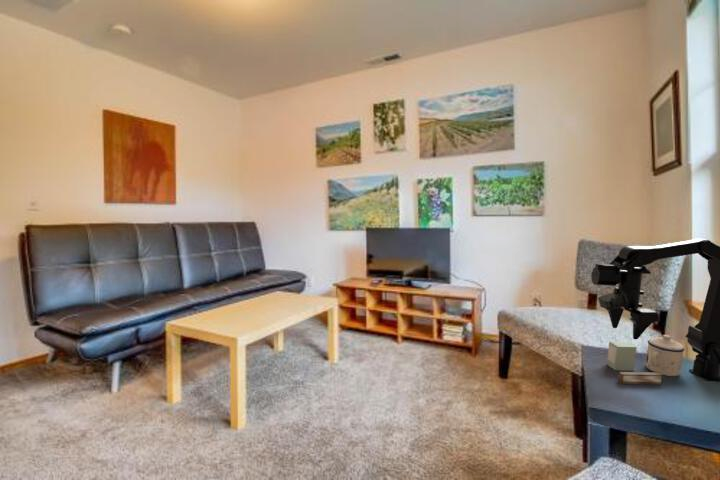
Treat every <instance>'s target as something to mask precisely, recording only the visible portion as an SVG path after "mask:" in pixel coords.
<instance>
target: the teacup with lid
mask: <svg viewBox="0 0 720 480" xmlns="http://www.w3.org/2000/svg"><path fill="white" fill-rule="evenodd" d="M684 352H685V347H684V346H683V344H681V343H680V342H677V341H676V340H674V339H672V337H671V336H670V335H669V334H663V335H662V336H659V337H651V338H648V340H647V351H646V359H645V367H646V368H647V369H648V370H649V371H651V372H656V373H660V374H662V376H668V377H677V376H680V375H681V369H682V364H683V363H682V361H683V354H684Z"/></svg>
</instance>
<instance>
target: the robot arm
mask: <svg viewBox="0 0 720 480" xmlns="http://www.w3.org/2000/svg"><path fill="white" fill-rule="evenodd" d="M695 254H698V255H699V256H701V257H702V258H703V259H704V260H706V261H707V272H708V275H709V277H710V280H709V285H708V289H707V292H706V296H705V299H704V303H703V306H702V307H703V308H702V312H701V314H700V319H699V322H698V323H697V324H695V325H694V326H693V325H689V326H688V327H687V328H688V329H687V334H686V335H685V338H686V339H687V343H688V345H689V346H690V347H691V350H692V351H693V352H695V353H696V354H695V358H694V360H693V367H692V368H691V369H688V371H689V372H690V373H692V374H694V375H696V376H698V377H699V378H701V379H703V380H704V381H708V382H709V381H710V382H720V245H717V244H716V243H714V242H712V241H711V240H710V239H704V238H700V237H698V238H693V239H689V240H684V241H677V242H671V243H665V244H659V245H653V246H646V245H645V246H644V245H626V246H624V247H622V248H621V249H620V250H619V252H618V255H616V256H615V257H614V258H613V260H612V261H611V262H610V263H609V264H605V263H604V264H603V263H595V265H594V266H595V267H593V269H592V272H591V274H590V275H591V276H590V277H591V282H592V284H593V285H594V286H596V285H597V286H610V287H611V286H613V287H614V286H615V287H614V288H613V292H611V293H610V292H609V293H606V294H604V295H601V296H598V297H597V300H598V303H599V306H600V308H603V309H605V310H606V311H607V313H608V316H609V318H610V323H611V326H612V329H617V328H618V326H619V324H620V321H621V318H622V315H623V313H624V311H627V312H629V314H630V315H629V316H630V318H629V320H630V321H631V322H632V338H633V340H638V339H640V338H641V336H642V334H644V332H645V331H646V329H648V327H649V326H651V325H652V324H655V323H659V321H660V316H661V315H660V314H659V313H658V312H657V311H655V310H653V309H650V308H643V305H644V304H643V303H641V302H640V297H641V296H643V295H644V293H645V291H643V290H641V288H642V280H643V279H642V278H643V275H644V274H645V275H651V273H652V271H651V270H649V269H648V268H647V267H646V266H647V265H650V264H653V263H654V262H656V261H659V260H662V259H663V260H664V259H669V258H675V257H676V258H677V257H682V256H683V257H684V256H688V255H695ZM617 285H618V286H617ZM616 286H617V287H616Z"/></svg>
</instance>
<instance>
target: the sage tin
mask: <svg viewBox="0 0 720 480" xmlns="http://www.w3.org/2000/svg"><path fill="white" fill-rule="evenodd" d="M636 353H637V346H635V345H633V344H632V343H630V342H629V341H608V351H607V359H606V365H607V366H608V367H610V368H613V369H612V370H614V371H626V372H635V363H636V362H635V361H636Z"/></svg>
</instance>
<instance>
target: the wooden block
mask: <svg viewBox="0 0 720 480" xmlns="http://www.w3.org/2000/svg"><path fill="white" fill-rule="evenodd" d="M662 381H663V375H662V374H660V373H656V372H653V371H651V372H647V371H646V372H644V371H641V372H639V371H619V372H618V376H617V382H618V383H619V384H621V385H622V384H623V385H627V384H628V385H662Z"/></svg>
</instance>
